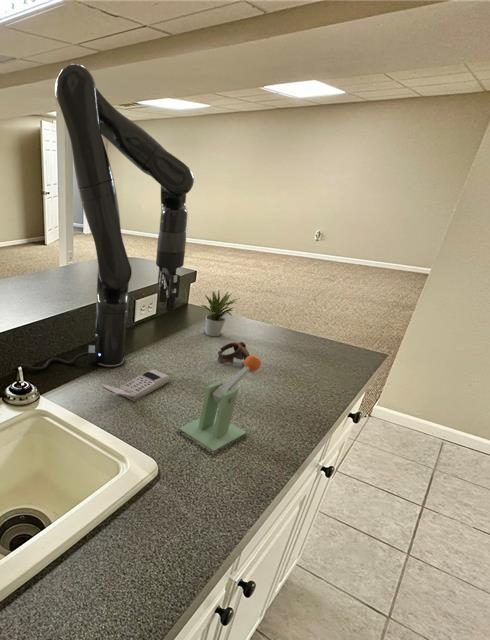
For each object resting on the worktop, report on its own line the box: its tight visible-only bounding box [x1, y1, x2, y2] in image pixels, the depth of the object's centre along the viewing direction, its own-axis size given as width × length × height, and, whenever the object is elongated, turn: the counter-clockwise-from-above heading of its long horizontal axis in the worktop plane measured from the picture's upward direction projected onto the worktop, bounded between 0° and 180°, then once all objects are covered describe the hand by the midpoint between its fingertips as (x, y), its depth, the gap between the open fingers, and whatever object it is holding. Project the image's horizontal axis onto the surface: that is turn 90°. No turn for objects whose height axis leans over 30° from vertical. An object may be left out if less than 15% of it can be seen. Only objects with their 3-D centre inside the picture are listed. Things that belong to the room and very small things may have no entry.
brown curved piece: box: [217, 341, 251, 365], centre depth 127 cm, size 12×10×8 cm
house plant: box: [200, 289, 239, 337], centre depth 144 cm, size 14×14×16 cm
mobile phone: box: [101, 368, 172, 402], centre depth 109 cm, size 6×6×25 cm
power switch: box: [178, 380, 248, 452], centre depth 91 cm, size 12×10×13 cm
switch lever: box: [212, 355, 262, 404], centre depth 90 cm, size 14×4×4 cm, turn 125°
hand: (166, 306), depth 117 cm, fingers open, 8 cm apart
